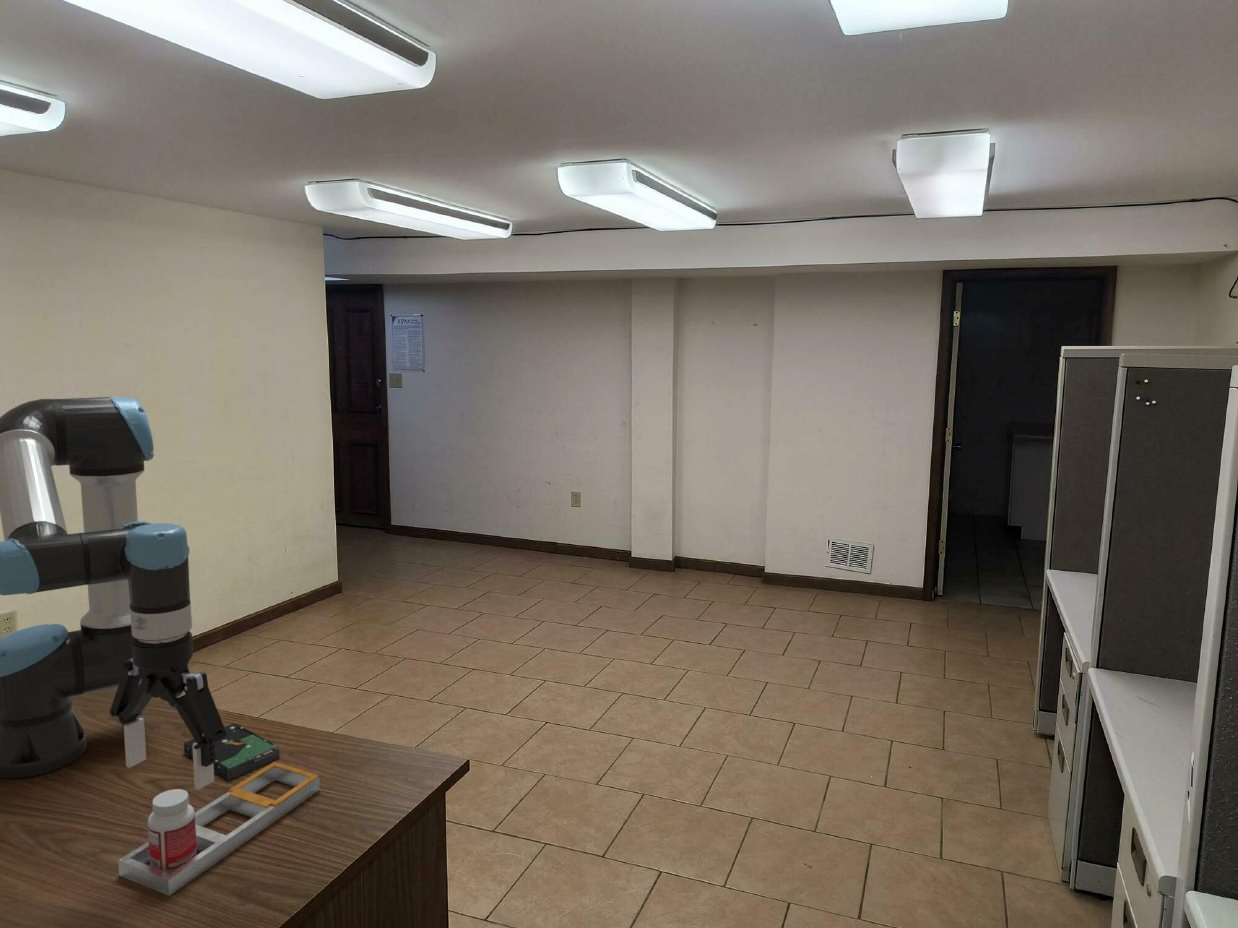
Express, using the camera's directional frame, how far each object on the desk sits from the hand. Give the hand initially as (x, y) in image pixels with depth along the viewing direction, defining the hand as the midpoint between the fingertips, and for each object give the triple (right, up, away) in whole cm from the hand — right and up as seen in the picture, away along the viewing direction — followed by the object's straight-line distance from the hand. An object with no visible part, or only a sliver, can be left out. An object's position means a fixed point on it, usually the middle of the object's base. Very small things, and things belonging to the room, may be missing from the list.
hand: (169, 773), depth 122 cm
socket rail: (+3, -13, +12) cm, 18 cm away
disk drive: (-6, -10, +34) cm, 36 cm away
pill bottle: (-1, -15, +3) cm, 15 cm away
